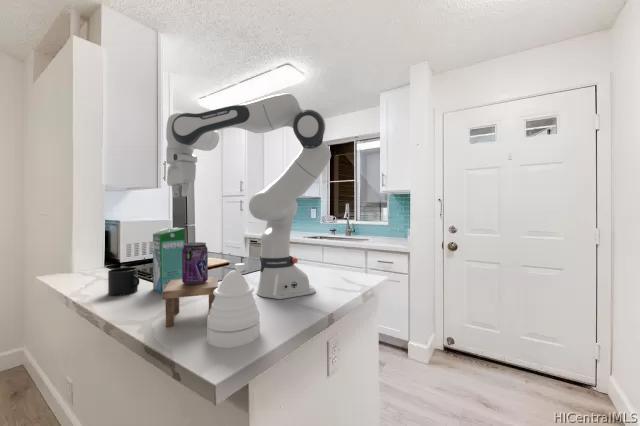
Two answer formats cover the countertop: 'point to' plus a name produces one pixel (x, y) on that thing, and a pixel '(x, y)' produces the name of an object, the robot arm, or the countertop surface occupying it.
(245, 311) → the honey pot
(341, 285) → the countertop surface
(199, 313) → the countertop surface
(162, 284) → the milk carton
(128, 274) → the mug
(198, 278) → the beverage can
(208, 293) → the walnut stool
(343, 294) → the countertop surface
